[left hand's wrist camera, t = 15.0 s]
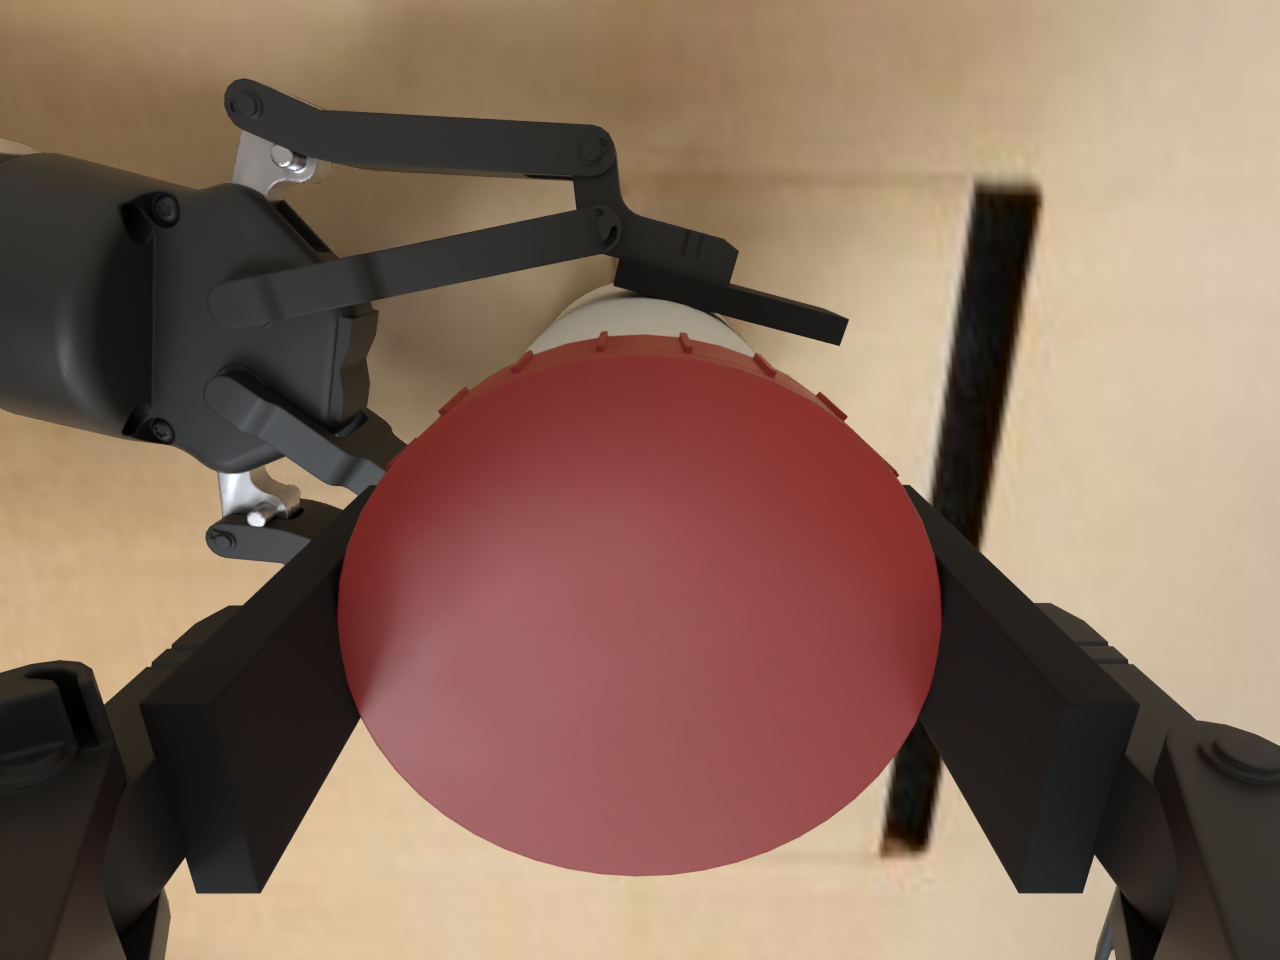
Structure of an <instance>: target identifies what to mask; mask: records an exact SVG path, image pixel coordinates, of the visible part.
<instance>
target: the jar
mask: <svg viewBox="0 0 1280 960" xmlns="http://www.w3.org/2000/svg"><path fill="white" fill-rule="evenodd" d="M613 284H614V283H611V284H608V285H605V286H602V287H599V288H597V289H595V290H593V291H591V292H589V293H586V294H585V295H583V296H582V297H580V298H579V299H577V300H576V301H574V302H573V303H572V304H571V305H570V306H568V307H567V308H566V309H565V310H564V311H563V312H562V313H561V314H560V315H559V316H558V317H557V318H556V319H555V320H554V321H553V322H552V323H551V324H550V326H549V327H548V328H547V329H546V330H545V331H544V332H543V333H542V334H541V335H540V336H539V337H538V338H537V339H536V340H535V342H534V343H533V344H532V345H531V346H530V347H529V348H528V349H527V350H526V351H525V352H527V351H529V350H532V352H533V354H537V353H540V352H543V351H546V350H549V349H552V348H555V347H558V346H561V345H564V344H567V343H572V342H577V341H583V340H588V339H593V338H599V335H600V333H601V332H603V331H608V336H621V335H640V334H646V335H659V336H671V337H679V335H680V332H683V333H687V335H688V337H689V339H692V340H697V341H701V342H706V343H710V344H715V345H720V346H723V347H725V348H728V349H731V350H734V351H736V352H739V353H742V354H745V355H747V356H750V357H753V356H754V354H755V352H754V351H753V350H752V348H751V347H750V346H749V345H748V344H747V343H746V342H745V341H744V340H743V339H742V338H741V337H740V336H739V335H738V333H737V332H736V331H735V330H734V329H733V328H732V327H731V326H730V325H729V324H728V323H727V322H726V321H725V320H724V319H723V317H722V316H721V315H720V314H717V313H713V312H709V311H705V310H702V309H698V308H694V307H690V306H686V305H683V304H679V303H675V302H671V301H668V300H664V299H660V298H656V297H652V296H649V295H645V294H641V293H637V292H634V291H630V290H626V289H622V288H618V287H615V286H613ZM525 352H524V353H525ZM524 353H523V354H524ZM523 354H522V355H523ZM522 355H521V356H522ZM521 356H520V357H521ZM520 357H519V359H520ZM519 359H518V360H519ZM518 360H517V361H518ZM517 361H516V362H517ZM516 362H515V363H516Z"/></svg>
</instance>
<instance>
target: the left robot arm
mask: <svg viewBox="0 0 1280 960" xmlns="http://www.w3.org/2000/svg"><path fill="white" fill-rule="evenodd" d="M376 486H377V485H369V486H368V487H367V488H366V489H365V490H364V491H363V492H362V493H361V494H360V495H359V496H357V497H356V498H355V499H354V500H353V501H352V502H351V503H350V504H349V505H348V506H347V507H346V508H345V509H344V510H343V511H342V512H341V513H340V514H339V515H337V516H336V517H335V518H334V519H333V520H332V521H331V522H330V523H329V524H328V525H327V526H326V527H325V528H324V529H323V530H322V531H321V532H320V533H319V534H317V535H316V536H315V537H314V538H313V539H312V540H311V541H310V542H309V543H308V544H307V545H306V546H305V547H304V548H303V549H302V550H301V551H300V552H299V553H297V554H296V555H295V556H294V557H293V558H292V559H291V560H290V561H289V562H288V563H287V564H286V565H285V566H284V567H283V568H282V569H281V570H280V571H279V572H277V573H276V574H275V575H274V576H273V577H272V578H271V579H270V580H269V581H268V582H267V583H266V584H265V585H264V586H263V587H262V588H261V589H260V590H259V591H257V592H256V593H255V594H254V595H253V596H252V597H251V598H250V599H249V600H248V601H247V602H246V603H245V604H244V605H243V606H227V607H225V608H224V609H222V610H220V611H218V612H216V613H214V614H212V615H211V616H209V617H207V618H205V619H203V620H201V621H199V622H198V623H196V624H194V625H193V626H192V627H191V628H190V629H189V630H188V631H187V632H185V633H184V634H183V635H182V636H181V637H180V638H179V639H178V640H176V641H175V642H174V643H173V644H172V648H171V649H166V650H165V651H164V652H163V653H162V654H161V655H160V656H159V657H157V658H156V659H155V660H154V661H153V662H152V666H151V667H146V668H145V669H144V670H143V671H142V672H141V673H139V674H138V675H137V676H136V677H135V678H134V679H133V680H132V681H130V682H129V683H128V684H127V685H126V686H125V687H124V688H123V689H121V690H120V691H119V692H118V693H117V694H116V695H115V696H114V697H112V698H111V699H110V700H109V701H108V702H107V703H106V704H105V705H104V704H103V701H102V698H101V695H100V691H99V688H98V685H97V682H96V679H95V676H94V673H93V670H92V669H91V668H90V667H88V666H86V665H85V664H83V663H81V662H75V661H62V660H58V661H50V662H43V663H35V664H30V665H26V666H23V667H19V668H16V669H12V670H9V671H5V672H2V673H0V960H164V959H165V952H166V945H167V938H168V932H169V925H170V918H171V916H170V909H169V902H168V899H167V896H166V893H165V890H164V886H165V885H166V883H167V882H168V881H169V879H170V878H171V876H172V875H173V874H174V872H175V871H176V869H177V868H178V867H179V865H180V864H181V863H182V861H183V860H184V858H185V857H186V860H187V864H188V867H189V870H190V873H191V877H192V880H193V883H194V887H195V890H196V893H261V891H262V890H263V888H264V886H265V884H266V883H267V881H268V879H269V877H270V876H271V874H272V872H273V870H274V869H275V867H276V865H277V863H278V862H279V860H280V858H281V856H282V855H283V853H284V851H285V849H286V847H287V846H288V844H289V842H290V840H291V839H292V837H293V835H294V833H295V832H296V830H297V828H298V826H299V825H300V823H301V821H302V819H303V818H304V816H305V814H306V812H307V811H308V809H309V807H310V805H311V804H312V802H313V800H314V798H315V797H316V795H317V793H318V791H319V790H320V788H321V786H322V784H323V783H324V781H325V779H326V777H327V776H328V774H329V772H330V770H331V769H332V767H333V765H334V763H335V762H336V760H337V758H338V756H339V755H340V753H341V751H342V749H343V747H344V746H345V744H346V742H347V740H348V739H349V737H350V735H351V733H352V732H353V730H354V728H355V726H356V725H357V723H358V721H359V719H360V718H361V717H360V715H359V712H358V710H357V707H356V705H355V702H354V700H353V697H352V695H351V692H350V690H349V687H348V685H347V681H346V675H345V670H344V665H343V660H342V654H341V649H340V642H339V636H338V627H337V605H338V591H339V580H340V576H341V571H342V567H343V563H344V558H345V554H346V550H347V546H348V543H349V541H350V538H351V536H352V533H353V531H354V528H355V526H356V523H357V521H358V518H359V516H360V513H361V512H362V510H363V508H364V506H365V505H366V503H367V501H368V500H369V498H370V496H371V495H372V493H373V491H374V490H375V488H376ZM903 487H904V489H905V490H906V492H907V494H908V496H909V498H910V500H911V501H912V503H913V505H914V507H915V509H916V510H917V512H918V514H919V516H920V518H921V520H922V522H923V525H924V528H925V530H926V533H927V536H928V539H929V541H930V544H931V547H932V550H933V552H934V556H935V561H936V566H937V571H938V576H939V582H940V587H941V604H942V630H941V637H940V643H939V649H938V655H937V661H936V666H935V671H934V676H933V680H932V684H931V687H930V691H929V693H928V696H927V698H926V700H925V703H924V705H923V707H922V710H921V712H920V714H919V716H918V717H919V719H920V721H921V722H922V724H923V726H924V728H925V730H926V731H927V733H928V735H929V737H930V738H931V740H932V742H933V744H934V745H935V747H936V749H937V751H938V752H939V754H940V756H941V758H942V759H943V761H944V763H945V765H946V766H947V768H948V770H949V772H950V773H951V775H952V777H953V779H954V780H955V782H956V784H957V786H958V787H959V789H960V791H961V793H962V794H963V796H964V798H965V800H966V801H967V803H968V805H969V807H970V808H971V810H972V812H973V814H974V815H975V817H976V819H977V821H978V823H979V824H980V826H981V828H982V830H983V831H984V833H985V835H986V837H987V838H988V840H989V842H990V844H991V845H992V847H993V849H994V851H995V852H996V854H997V856H998V858H999V859H1000V861H1001V863H1002V865H1003V866H1004V868H1005V870H1006V872H1007V873H1008V875H1009V877H1010V879H1011V880H1012V882H1013V884H1014V886H1015V887H1016V889H1017V891H1018V893H1083V890H1084V887H1085V884H1086V880H1087V877H1088V874H1089V870H1090V867H1091V864H1092V861H1093V857H1094V854H1095V856H1096V857H1097V858H1098V860H1099V861H1100V863H1101V864H1102V865H1103V867H1104V868H1105V869H1106V871H1107V872H1108V874H1109V875H1110V876H1111V878H1112V879H1113V881H1114V882H1115V883H1116V885H1117V887H1116V890H1115V893H1114V896H1113V899H1112V902H1111V905H1110V908H1109V911H1108V914H1107V917H1106V920H1105V923H1104V926H1103V929H1102V932H1101V935H1100V938H1099V941H1098V944H1097V948H1096V954H1095V960H1108V958H1109V955H1110V952H1111V951H1112V950H1113V949H1114V950H1115V956H1116V960H1280V746H1278V745H1276V744H1274V743H1272V742H1270V741H1268V740H1266V739H1264V738H1262V737H1260V736H1258V735H1256V734H1253V733H1250V732H1247V731H1244V730H1241V729H1238V728H1235V727H1232V726H1229V725H1225V724H1218V723H1212V722H1205V721H1197V720H1196V719H1195V718H1193V717H1192V716H1191V715H1190V714H1189V713H1188V712H1187V711H1185V710H1184V709H1183V708H1182V707H1181V706H1180V705H1179V704H1178V703H1176V702H1175V701H1174V700H1173V699H1172V698H1171V697H1170V696H1168V695H1167V694H1166V693H1165V692H1164V691H1163V690H1162V689H1161V688H1159V687H1158V686H1157V685H1156V684H1155V683H1154V682H1153V681H1151V680H1150V679H1149V678H1148V677H1147V676H1146V675H1145V674H1144V673H1142V672H1141V671H1140V670H1139V669H1138V668H1137V667H1136V666H1135V665H1133V664H1128V659H1127V658H1125V657H1124V656H1123V655H1122V654H1121V653H1120V652H1119V651H1118V650H1116V649H1115V648H1114V647H1113V646H1108V642H1107V641H1106V640H1105V639H1104V638H1103V637H1102V636H1101V635H1099V634H1098V633H1097V632H1096V631H1095V630H1094V629H1093V628H1091V627H1090V626H1089V625H1088V624H1087V623H1086V622H1085V621H1083V620H1081V619H1079V618H1078V617H1076V616H1074V615H1072V614H1070V613H1068V612H1066V611H1064V610H1063V609H1061V608H1059V607H1057V606H1055V605H1053V604H1051V603H1033V602H1032V601H1031V600H1030V599H1029V598H1028V597H1027V596H1026V595H1025V594H1024V593H1023V592H1022V591H1021V590H1020V589H1019V588H1017V587H1016V586H1015V585H1014V584H1013V583H1012V582H1011V581H1010V580H1009V579H1008V578H1007V577H1006V576H1005V575H1004V574H1003V573H1002V572H1001V571H1000V570H999V569H997V568H996V567H995V566H994V565H993V564H992V563H991V562H990V561H989V560H988V559H987V558H986V557H985V556H984V555H983V554H982V553H981V552H980V551H979V550H977V549H976V548H975V547H974V546H973V545H972V544H971V543H970V542H969V541H968V540H967V539H966V538H965V537H964V536H963V535H962V534H961V533H960V532H959V531H958V530H956V529H955V528H954V527H953V526H952V525H951V524H950V523H949V522H948V521H947V520H946V519H945V518H944V517H943V516H942V515H941V514H940V513H939V512H938V511H936V510H935V509H934V508H933V507H932V506H931V505H930V504H929V503H928V502H927V501H926V500H925V499H924V498H923V497H922V496H921V495H920V494H919V493H918V492H916V491H915V490H914V489H913V488H912V487H911V486H910V485H903Z"/></svg>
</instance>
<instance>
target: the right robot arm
mask: <svg viewBox="0 0 1280 960" xmlns="http://www.w3.org/2000/svg"><path fill="white" fill-rule="evenodd" d="M225 108H226V111H227V114H228V116H229V117H230V119H231V120H232V121H233V123H234V124H235V125H236V126H238V127H239V128H241V129H242V130H241V135H240V140H239V145H238V150H237V155H236V160H235V165H234V170H233V175H232V180H231V183H225V184H219V185H216V186H213V187H210V188H207V189H201V190H196V189H192V188H188V187H184V186H181V185H177V184H173V183H169V182H165V181H162V180H158V179H154V178H150V177H146V176H143V175H139V174H135V173H131V172H127V171H124V170H120V169H116V168H112V167H108V166H105V165H101V164H97V163H93V162H89V161H86V160H82V159H78V158H74V157H70V156H66V155H61V154H56V153H41V152H39V151H37V150H35V149H33V148H31V147H29V146H27V145H25V144H21V143H17V142H14V141H10V140H6V139H2V138H0V408H1V409H3V410H5V411H8V412H11V413H14V414H17V415H22V416H26V417H30V418H35V419H39V420H43V421H47V422H52V423H56V424H60V425H65V426H69V427H73V428H78V429H82V430H86V431H91V432H95V433H99V434H104V435H108V436H112V437H117V438H121V439H127V440H133V441H140V442H148V443H157V444H164V445H170V446H173V447H176V448H179V449H181V450H183V451H185V452H186V453H188V454H190V455H191V456H193V457H194V458H196V459H197V460H198V461H200V462H201V463H202V464H204V465H205V466H207V467H208V468H210V469H212V470H215V471H217V472H218V480H219V489H220V498H221V506H222V519H221V520H219V521H218V522H216V523H215V524H213V525H212V526H210V527H209V529H208V530H207V532H206V542H207V545H208V547H209V548H210V549H211V550H212V551H213V552H214V553H216V554H217V555H219V556H221V557H225V558H233V559H243V560H254V561H265V562H276V563H282V564H285V565H286V564H287V563H288V562H289V561H290V560H291V559H292V558H293V557H294V556H295V555H296V554H297V553H299V552H300V551H301V550H302V549H303V548H304V547H305V546H306V545H307V544H308V543H309V542H310V541H311V540H312V539H313V538H314V537H315V536H316V535H317V534H319V533H320V532H321V531H322V530H323V529H324V528H325V527H326V526H327V525H328V524H329V523H330V522H331V521H332V520H333V519H334V518H335V517H336V516H337V515H339V514H340V513H341V512H342V511H343V510H342V509H339V508H336V507H334V506H331V505H328V504H325V503H321V502H317V501H313V500H308V499H301V498H300V495H301V492H300V490H299V489H298V487H296V486H295V485H285V484H282V483H279V482H277V481H275V480H274V479H272V478H271V477H270V476H269V475H268V473H267V471H266V470H265V466H264V465H266V464H268V463H271V462H273V461H276V460H278V459H281V458H283V457H285V456H286V457H287V458H289V459H290V460H292V461H293V462H295V463H296V464H298V465H299V466H300V467H302V468H303V469H305V470H306V471H308V472H309V473H311V474H312V475H314V476H315V477H316V478H318V479H319V480H321V481H323V482H325V483H326V484H329V485H332V486H343V487H346V488H348V489H349V490H351V491H352V492H354V493H355V494H357V495H358V496H359V495H360V494H361V493H362V492H363V491H364V490H365V489H366V488H367V487H368V486H369V485H378V483H379V481H380V480H381V478H382V477H383V476H384V475H385V474H386V472H387V471H386V470H385V467H386V466H387V464H388V463H389V462H390V461H391V460H392V459H394V458H395V457H396V456H397V455H398V454H399V453H400V452H401V451H402V450H403V449H404V448H405V447H406V446H407V444H406V443H404V442H403V441H402V440H400V439H399V438H397V437H396V436H395V435H394V434H393V432H392V429H391V427H390V425H389V424H388V423H387V422H386V421H385V420H383V419H382V418H381V417H379V416H378V415H377V414H375V413H374V412H372V411H371V410H370V409H368V408H367V407H366V406H367V403H368V395H369V386H370V381H369V374H368V367H367V361H366V357H367V354H368V352H369V350H370V347H371V345H372V343H373V340H374V338H375V335H376V329H377V321H378V312H379V311H378V310H374V309H372V305H371V301H374V300H378V299H383V298H387V297H392V296H397V295H402V294H407V293H412V292H417V291H422V290H427V289H431V288H436V287H441V286H446V285H451V284H456V283H461V282H466V281H471V280H475V279H480V278H485V277H490V276H495V275H500V274H505V273H510V272H515V271H520V270H524V269H529V268H534V267H539V266H544V265H549V264H554V263H559V262H564V261H568V260H573V259H578V258H583V257H588V256H593V255H598V254H605V255H609V256H612V257H616V258H620V259H619V263H618V267H617V271H616V276H615V280H614V284H613V286H615V287H618V288H622V289H626V290H630V291H634V292H637V293H641V294H645V295H649V296H652V297H656V298H660V299H664V300H668V301H671V302H675V303H679V304H683V305H686V306H690V307H694V308H698V309H702V310H705V311H709V312H713V313H717V314H720V315H724V316H728V317H732V318H736V319H739V320H743V321H747V322H751V323H755V324H758V325H762V326H766V327H770V328H773V329H777V330H781V331H785V332H789V333H792V334H796V335H800V336H804V337H807V338H811V339H815V340H819V341H823V342H826V343H830V344H834V345H838V346H840V343H841V341H842V338H843V335H844V332H845V329H846V327H847V324H848V321H849V319H847V318H845V317H842V316H840V315H838V314H835V313H833V312H831V311H828V310H826V309H823V308H820V307H816V306H812V305H808V304H805V303H801V302H797V301H794V300H790V299H786V298H782V297H779V296H775V295H771V294H768V293H764V292H760V291H756V290H753V289H749V288H745V287H742V286H738V285H734V284H730V280H731V276H732V273H733V269H734V266H735V262H736V259H737V256H738V252H739V251H738V250H737V249H735V248H734V247H733V246H732V245H730V244H729V243H728V242H727V241H725V240H724V239H722V238H718V237H715V236H711V235H707V234H704V233H700V232H696V231H693V230H689V229H686V228H682V227H678V226H675V225H671V224H667V223H664V222H660V221H656V220H653V219H649V218H645V217H642V216H639V215H637V214H635V213H633V212H632V211H631V210H629V209H628V207H627V206H626V205H625V203H624V201H623V199H622V196H621V191H620V181H619V171H618V160H617V153H616V149H615V146H614V143H613V141H612V139H611V137H610V135H609V133H607V132H606V131H605V130H604V129H602V128H601V127H598V126H594V125H586V124H568V123H550V122H531V121H513V120H495V119H477V118H458V117H440V116H422V115H404V114H385V113H367V112H349V111H331V110H325V109H322V108H320V107H318V106H316V105H313V104H311V103H309V102H307V101H304V100H302V99H300V98H297V97H295V96H292V95H290V94H287V93H284V92H282V91H279V90H277V89H274V88H271V87H269V86H266V85H264V84H261V83H258V82H256V81H253V80H249V79H239V80H235V81H234V82H233V83H231V84H230V85H229V86H228V88H227V90H226V93H225ZM333 163H337V164H341V165H346V166H350V167H355V168H360V169H367V170H375V171H391V172H410V173H429V174H448V175H466V176H485V177H504V178H523V179H541V180H560V181H573V184H574V192H575V200H576V208H577V210H573V211H568V212H564V213H559V214H554V215H549V216H544V217H540V218H535V219H530V220H525V221H520V222H516V223H511V224H506V225H501V226H497V227H492V228H487V229H482V230H477V231H473V232H468V233H463V234H458V235H454V236H449V237H444V238H439V239H434V240H430V241H425V242H420V243H415V244H411V245H406V246H401V247H396V248H391V249H387V250H382V251H377V252H372V253H366V254H360V255H355V256H349V257H344V258H338V257H337V256H336V255H335V254H334V252H333V251H332V250H331V249H330V248H329V247H328V246H327V245H326V244H325V243H324V242H323V241H322V240H321V239H320V238H319V236H318V235H317V234H316V233H315V232H314V231H313V230H312V229H311V228H310V227H309V226H308V225H307V224H306V223H305V221H304V220H303V219H302V218H301V217H300V216H299V215H298V214H297V213H296V212H295V211H294V210H293V209H292V208H291V206H290V205H289V204H288V203H287V202H286V201H285V200H284V199H283V198H284V195H285V193H286V191H287V190H288V189H289V187H291V186H292V185H294V184H297V183H307V184H319V183H321V182H323V181H325V180H326V179H327V178H328V176H329V174H330V172H331V169H332V165H333ZM336 434H337V435H338V436H336Z"/></svg>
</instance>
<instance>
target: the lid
mask: <svg viewBox="0 0 1280 960" xmlns="http://www.w3.org/2000/svg"><path fill="white" fill-rule="evenodd" d="M438 412H439V413H440V414H441V416H440V417H439V418H438V419H437V420H436V421H435V422H434V423H433V424H432V425H431V426H430V427H429V428H428V429H426V430H425V431H424V432H423V433H422V434H421V435H420V436H419V437H418V438H415V439H414V440H413V441H412V442H411V443H410V444H409V445H407V446H406V447H405V448H404V449H403V450H402V451H401V452H400V453H399V454H398V455H397V456H396V457H395V458H394V459H392V460H391V461H390V462H389V463H388V464H387V466H386V467H385V470H386V471H387V472H386V474H385V475H384V476H383V477H382V478H381V480H380V481H379V483H378V485H377V486H376V488H375V490H374V491H373V493H372V495H371V496H370V498H369V500H368V501H367V503H366V505H365V506H364V508H363V510H362V512H361V513H360V516H359V518H358V521H357V523H356V526H355V528H354V531H353V533H352V536H351V538H350V541H349V543H348V546H347V550H346V554H345V558H344V563H343V567H342V571H341V576H340V580H339V591H338V605H337V627H338V636H339V642H340V649H341V654H342V660H343V665H344V670H345V675H346V681H347V685H348V687H349V690H350V692H351V695H352V697H353V700H354V702H355V705H356V707H357V710H358V712H359V715H360V717H361V719H362V720H363V722H364V724H365V726H366V727H367V729H368V731H369V733H370V734H371V736H372V738H373V740H374V741H375V743H376V745H377V746H378V747H379V749H380V750H381V751H382V753H383V754H384V755H385V757H386V758H387V759H388V761H389V762H390V763H391V765H392V766H393V767H394V769H395V770H396V771H397V772H398V773H399V774H400V775H401V776H402V777H403V778H404V779H405V780H406V781H407V782H408V783H409V785H410V786H411V787H412V788H413V789H414V790H415V791H416V792H417V793H418V794H419V795H420V796H422V797H423V798H424V799H425V800H427V801H428V802H429V803H430V804H432V805H433V806H434V807H435V808H436V809H438V810H439V811H440V812H441V813H443V814H444V815H445V816H447V817H448V818H450V819H451V820H453V821H454V822H456V823H458V824H459V825H461V826H462V827H464V828H465V829H467V830H469V831H470V832H472V833H473V834H475V835H477V836H479V837H481V838H483V839H485V840H487V841H489V842H491V843H493V844H495V845H497V846H499V847H501V848H504V849H506V850H509V851H511V852H514V853H517V854H520V855H522V856H525V857H528V858H530V859H533V860H536V861H540V862H543V863H547V864H551V865H555V866H559V867H563V868H567V869H572V870H578V871H584V872H591V873H597V874H606V875H623V876H656V875H673V874H681V873H688V872H695V871H703V870H707V869H712V868H716V867H720V866H724V865H728V864H733V863H737V862H740V861H742V860H745V859H748V858H751V857H754V856H757V855H760V854H763V853H766V852H768V851H771V850H773V849H775V848H777V847H779V846H781V845H783V844H786V843H788V842H790V841H792V840H794V839H796V838H798V837H800V836H802V835H804V834H805V833H807V832H809V831H810V830H812V829H813V828H815V827H817V826H818V825H820V824H822V823H823V822H825V821H827V820H828V819H830V818H831V817H832V816H833V815H835V814H836V813H837V812H839V811H840V810H841V809H843V808H844V807H845V806H846V805H848V804H849V803H850V802H852V801H853V800H854V799H855V798H856V797H857V796H858V795H859V794H860V793H861V792H862V791H863V790H865V789H866V788H867V787H868V786H869V785H870V784H871V783H872V782H873V781H874V780H875V779H876V778H877V777H878V776H879V775H880V773H881V772H882V771H883V770H884V768H885V767H886V766H887V765H888V763H889V762H890V761H891V760H892V758H893V757H894V756H895V755H896V753H897V752H898V751H899V749H900V748H901V746H902V744H903V743H904V741H905V739H906V738H907V736H908V734H909V733H910V731H911V730H912V728H913V726H914V725H915V723H916V721H917V719H918V716H919V714H920V712H921V710H922V707H923V705H924V703H925V700H926V698H927V696H928V693H929V691H930V687H931V684H932V680H933V676H934V671H935V666H936V661H937V655H938V649H939V643H940V637H941V630H942V604H941V587H940V582H939V576H938V571H937V566H936V561H935V556H934V552H933V550H932V547H931V544H930V541H929V539H928V536H927V533H926V530H925V528H924V525H923V522H922V520H921V518H920V516H919V514H918V512H917V510H916V509H915V507H914V505H913V503H912V501H911V500H910V498H909V496H908V494H907V492H906V490H905V489H904V487H903V485H902V484H901V483H900V482H899V480H898V479H897V478H896V477H898V476H899V474H898V473H897V471H896V470H895V469H894V468H893V467H892V466H891V465H890V464H888V463H887V462H886V461H885V460H884V459H883V458H882V457H881V456H880V455H879V454H878V453H877V452H876V451H875V450H874V449H873V448H871V447H870V446H869V445H868V444H867V443H866V442H865V441H864V440H863V439H862V438H861V437H860V436H859V435H858V434H857V433H856V432H855V431H853V430H852V429H851V428H850V427H849V426H848V425H847V424H846V423H845V422H844V420H845V419H846V418H847V417H848V416H847V415H846V414H844V413H843V412H842V411H841V410H840V409H839V408H838V407H837V406H836V405H834V404H833V403H832V402H831V401H830V400H829V399H828V398H827V397H826V396H824V395H823V394H822V393H821V392H819V393H818V394H817V395H815V394H813V393H812V392H810V391H809V390H808V389H806V388H805V387H803V386H802V385H801V384H799V383H798V382H796V381H795V380H794V379H792V378H791V377H790V376H788V375H786V374H784V373H782V372H780V371H778V370H777V369H775V368H773V367H772V366H771V365H770V364H769V363H768V362H767V361H766V360H765V359H764V358H763V357H762V356H761V355H759V354H757V353H755V354H754V356H753V357H750V356H747V355H745V354H742V353H739V352H736V351H734V350H731V349H728V348H725V347H723V346H720V345H715V344H710V343H706V342H701V341H697V340H692V339H689V337H688V335H687V333H683V332H680V335H679V337H671V336H659V335H646V334H640V335H621V336H608V331H603V332H601V333H600V335H599V338H593V339H588V340H583V341H577V342H572V343H567V344H564V345H561V346H558V347H555V348H552V349H549V350H546V351H543V352H540V353H537V354H533V352H532V350H529V351H527V352H525V353H524V354H523V355H522V356H521V357H520V359H519V360H518V361H517V362H516V363H514V364H512V365H510V366H508V367H506V368H504V369H502V370H500V371H498V372H496V373H495V374H493V375H492V376H490V377H489V378H487V379H486V380H484V381H483V382H481V383H480V384H479V385H477V386H476V387H474V388H473V389H471V390H470V391H469V390H468V389H467V388H466V387H465V388H463V389H462V390H461V391H460V392H459V393H457V394H456V395H455V396H454V397H453V398H452V399H451V400H450V401H449V402H447V403H446V404H445V405H444V406H443V407H442V408H441V409H440V410H439V411H438Z"/></svg>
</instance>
